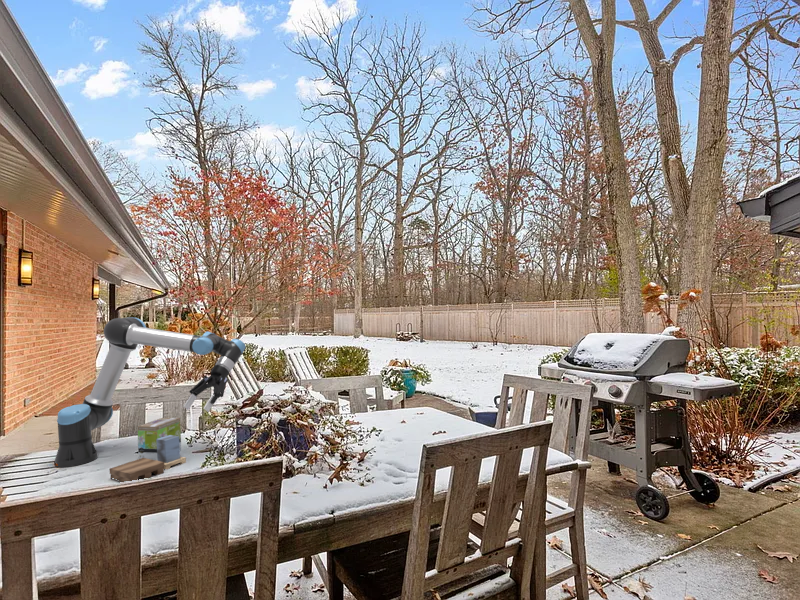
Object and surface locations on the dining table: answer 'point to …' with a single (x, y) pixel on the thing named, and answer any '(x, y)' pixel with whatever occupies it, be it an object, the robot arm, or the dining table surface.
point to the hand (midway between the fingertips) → (195, 409)
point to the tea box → (156, 435)
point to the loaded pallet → (169, 451)
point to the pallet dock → (137, 469)
